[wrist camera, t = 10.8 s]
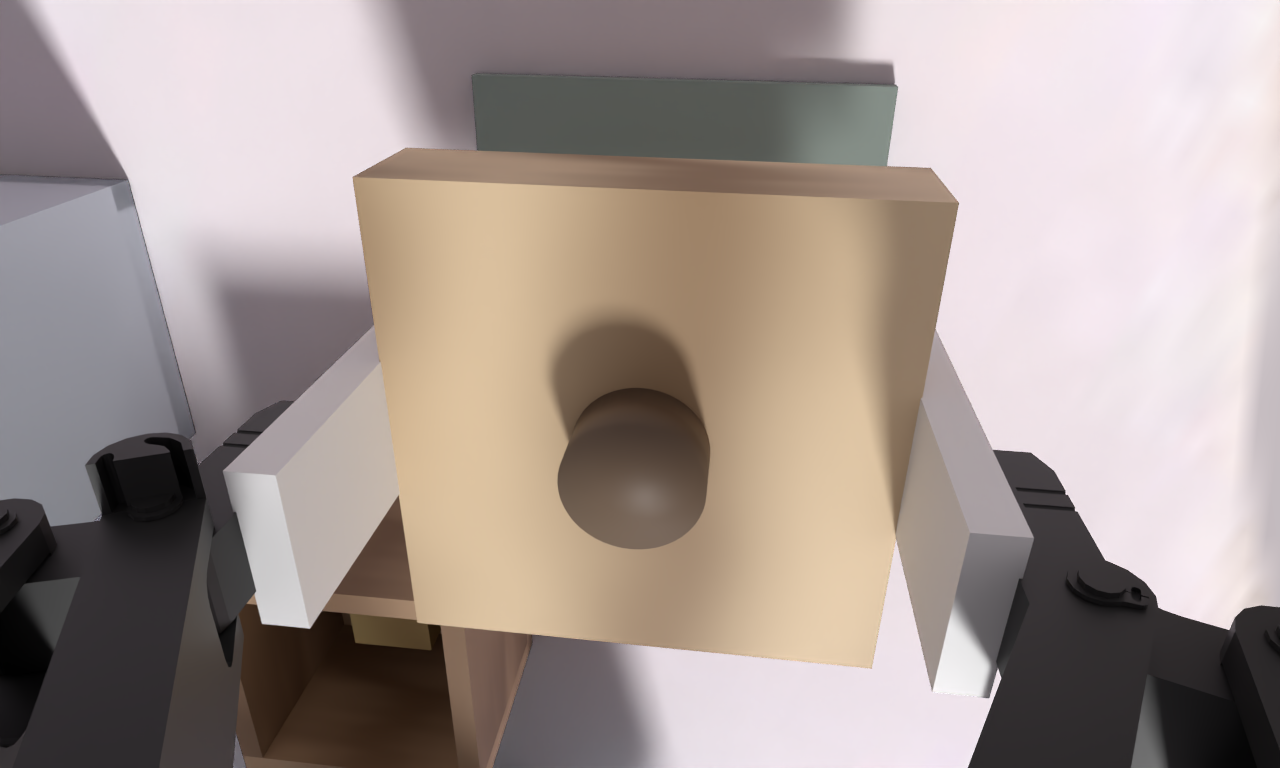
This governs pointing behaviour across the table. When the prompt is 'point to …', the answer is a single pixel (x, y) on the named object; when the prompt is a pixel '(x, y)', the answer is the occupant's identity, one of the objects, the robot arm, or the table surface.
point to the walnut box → (375, 677)
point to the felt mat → (685, 118)
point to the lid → (654, 390)
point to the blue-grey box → (77, 339)
